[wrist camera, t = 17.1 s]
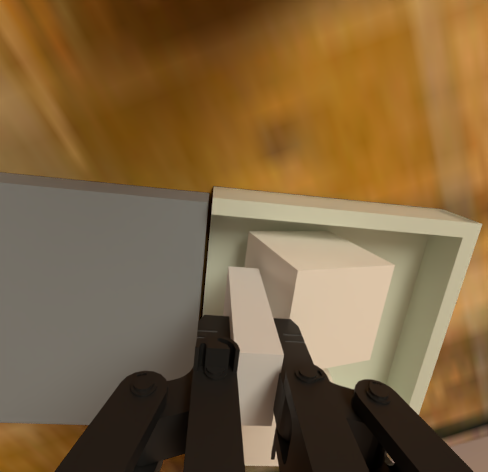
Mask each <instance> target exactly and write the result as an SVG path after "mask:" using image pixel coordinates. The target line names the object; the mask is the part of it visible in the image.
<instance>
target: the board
mask: <svg viewBox="0 0 488 472" xmlns="http://www.w3.org/2000/svg"><path fill="white" fill-rule="evenodd" d="M208 204H209V193H204V192H194V191H184V190H173V189H163V188H153V187H143V186H133V185H123V184H113V183H102V182H92V181H82V180H72V179H62V178H52V177H42V176H31V175H21V174H11V173H1V172H0V423H35V424H71V425H90V423H91V422H92V420H93V419H94V418H95V416H96V415H97V414H98V412H99V411H100V410H101V408H102V407H103V406H104V404H105V403H106V402H107V400H108V399H109V397H110V396H111V395H112V393H113V392H114V391H115V389H116V388H117V387H118V385H119V384H120V383H121V381H123V380H124V379H125V378H126V377H127V376H129V375H131V374H133V373H135V372H140V371H154V372H156V373H159V374H161V375H162V376H163V377H164V378H165V379H166V381H170V380H174V379H178V378H181V377H183V376H185V375H186V374H187V373H189V372H190V371H191V369H192V368H193V365H194V355H195V346H196V340H197V330H198V321H199V312H200V300H201V288H202V276H203V264H204V252H205V240H206V228H207V216H208Z"/></svg>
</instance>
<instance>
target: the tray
mask: <svg viewBox="0 0 488 472" xmlns="http://www.w3.org/2000/svg"><path fill="white" fill-rule="evenodd" d="M481 226H482V224H481V223H478V222H476V221H473V220H470V219H468V218H465V217H462V216H459V215H457V214H454V213H451V212H448V211H446V210H443V209H434V208H424V207H414V206H404V205H394V204H385V203H375V202H365V201H355V200H345V199H335V198H325V197H315V196H305V195H295V194H285V193H275V192H265V191H256V190H246V189H236V188H226V187H216V186H214V188H213V200H212V211H211V223H210V234H209V246H208V257H207V269H206V280H205V292H204V303H203V314H202V317H203V316H204V315H217V316H223V311H224V301H225V292H226V283H227V273H228V266H231V267H244V266H245V258H246V250H247V242H248V234H249V231H330V232H332V233H334V234H336V235H338V236H340V237H342V238H344V239H345V240H347V241H349V242H351V243H353V244H355V245H357V246H359V247H361V248H363V249H365V250H367V251H369V252H371V253H373V254H374V255H376V256H378V257H380V258H382V259H384V260H386V261H388V262H390V263H392V264H394V265H395V267H394V271H393V274H392V278H391V282H390V286H389V290H388V293H387V297H386V301H385V305H384V308H383V312H382V316H381V320H380V324H379V327H378V331H377V335H376V339H375V342H374V346H373V350H372V354H371V357H370V360H366V361H361V362H356V363H351V364H346V365H340V366H335V367H330V368H327V369H328V371H329V373H330V375H331V377H332V380H333V382H334V384H337V385H340V386H343V387H347V388H350V389H354V388H355V385H356V384H357V382H358V381H361V380H363V379H372V380H376V381H380V382H382V383H384V384H386V385H388V386H389V387H391V388H392V389H393V390H394V391H396V392H397V393H398V394H399V395H400V397H401V398H402V399H403V400H404V401H405V402H406V403H407V404H408V405H409V406H410V407H411V408H412V409H413V410H414V411H415V412H416V413H417V414H418V415H419V412H420V409H421V406H422V403H423V400H424V397H425V394H426V391H427V388H428V385H429V382H430V379H431V376H432V373H433V370H434V367H435V364H436V361H437V358H438V355H439V352H440V349H441V346H442V343H443V340H444V337H445V334H446V331H447V328H448V325H449V322H450V319H451V316H452V313H453V310H454V307H455V304H456V301H457V298H458V295H459V292H460V289H461V286H462V283H463V280H464V277H465V274H466V271H467V268H468V265H469V262H470V259H471V256H472V253H473V250H474V247H475V244H476V241H477V238H478V235H479V232H480V229H481Z"/></svg>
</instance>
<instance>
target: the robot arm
mask: <svg viewBox="0 0 488 472" xmlns="http://www.w3.org/2000/svg"><path fill="white" fill-rule="evenodd" d="M273 415H274V417H275V422H276V429H275V435H274V440H273V446H272V451H271V460H274V459H275V454H276V453H277V459H278V465H279V470H280V472H473V471H472V470H471V469H470V468H469V467H468V465H467V464H466V463H464V461H463V460H462V459H461V458H460V457H459V456H458V455H457V454H456V453H455V452H454V451H453V450H452V449H451V448H450V447H449V446H448V445H447V444H446V443H445V442H444V441H443V440H442V439H441V438H440V437H439V436H438V435H437V434H436V433H435V431H434V430H433V429H432V428H431V427H430V426H429V425H428V424H427V423H426V422H425V421H424V420H423V419H422V418H421V417H420V416H419V415H418V414H417V413H416V412H415V411H414V410H413V409H412V408H411V407H410V406H409V405H408V404H407V403H406V402H405V401H404V400H403V399H402V398H401V397H400V395H399V394H398V393H397V392H396V391H394V390H393V389H392V388H391V387H389V386H388V385H386V384H384V383H382V382H380V381H376V380H372V379H363V380H361V381H358V382H357V384H356V385H355V388H354V389H350V388H347V387H343V386H340V385H337V384H334V383H332V382H330V381H329V378H328V376H327V375H326V373H325V372H324V371H323V370H322V369H321V368H319V367H318V366H316V365H314V363H313V361H312V358H311V356H310V354H309V351H308V349H307V346H306V344H305V343H304V339H303V336H302V334H301V331H300V329H299V326H297V325H296V324H295V323H294V322H293V321H292V320H291V319H281V318H273V316H272V312H271V309H270V305H269V302H268V299H267V295H266V292H265V288H264V285H263V281H262V278H261V275H260V271H259V269H257V268H244V267H231V266H228V273H227V283H226V292H225V301H224V311H223V316H217V315H204V316H203V317H202V318H201V319H200V320H199V321H198V330H197V340H196V346H195V355H194V365H193V368H192V369H191V371H190V372H189V373H187V374H186V375H185V376H183V377H181V378H178V379H174V380H170V381H166V379H165V378H164V377H163V376H162V375H161V374H159V373H156V372H154V371H140V372H135V373H133V374H131V375H129V376H127V377H126V378H125V379H124V380H123V381H121V383H120V384H119V385H118V387H117V388H116V389H115V391H114V392H113V393H112V395H111V396H110V397H109V399H108V400H107V402H106V403H105V404H104V406H103V407H102V408H101V410H100V411H99V412H98V414H97V415H96V416H95V418H94V419H93V420H92V422H91V423H90V425H89V426H88V427H87V429H86V430H85V431H84V433H83V434H82V435H81V437H80V438H79V439H78V441H77V442H76V443H75V445H74V446H73V447H72V449H71V450H70V452H69V453H68V454H67V456H66V457H65V458H64V460H63V461H62V462H61V464H60V465H59V466H58V468H57V469H56V470H55V472H159V471H160V469H161V466H162V463H163V460H165V459H168V458H172V457H175V456H178V455H182V454H185V460H184V470H183V472H245V464H244V452H243V439H242V427H241V425H247V426H272V421H273ZM387 453H388V454H389V456H390V457H391V458H392V459H393V461H394V462H395V463H392V461H391V460H390V459H389V458H388V457H387V455H386V454H387Z"/></svg>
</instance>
